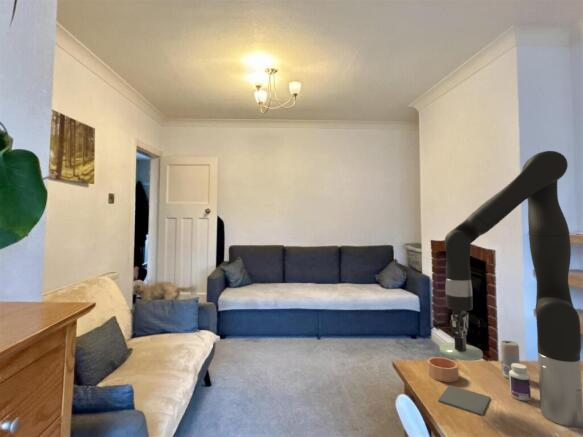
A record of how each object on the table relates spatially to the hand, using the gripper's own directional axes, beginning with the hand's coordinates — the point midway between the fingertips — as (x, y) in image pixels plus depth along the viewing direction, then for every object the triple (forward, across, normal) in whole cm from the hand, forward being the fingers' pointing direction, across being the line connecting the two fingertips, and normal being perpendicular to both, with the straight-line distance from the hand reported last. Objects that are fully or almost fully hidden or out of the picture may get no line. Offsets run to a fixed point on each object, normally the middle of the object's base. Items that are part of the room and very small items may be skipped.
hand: (460, 347), depth 99 cm
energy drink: (+16, +27, -10) cm, 33 cm away
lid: (+2, 0, 0) cm, 2 cm away
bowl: (+16, +13, +9) cm, 23 cm away
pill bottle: (+16, +13, -14) cm, 25 cm away
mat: (+16, 0, -1) cm, 16 cm away
